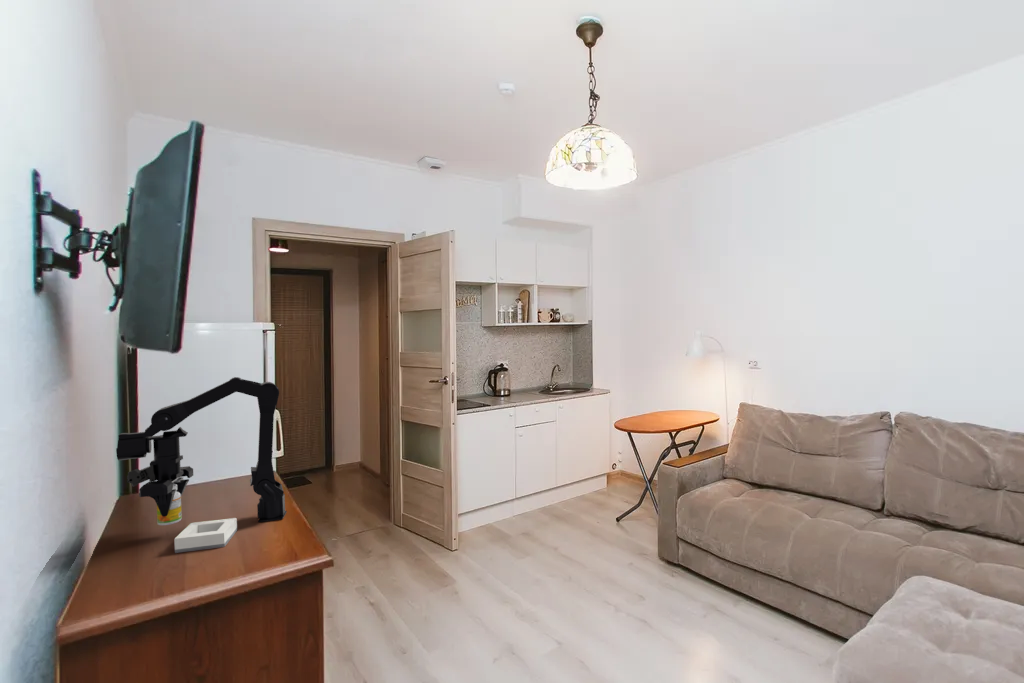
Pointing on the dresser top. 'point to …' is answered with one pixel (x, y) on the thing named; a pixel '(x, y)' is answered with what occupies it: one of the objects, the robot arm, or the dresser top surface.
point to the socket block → (206, 535)
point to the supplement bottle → (171, 510)
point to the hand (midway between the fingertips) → (169, 512)
